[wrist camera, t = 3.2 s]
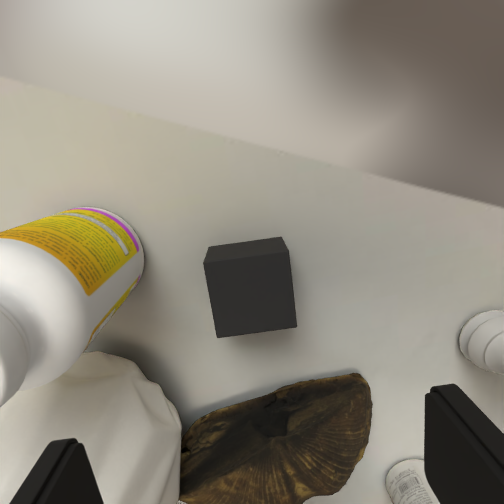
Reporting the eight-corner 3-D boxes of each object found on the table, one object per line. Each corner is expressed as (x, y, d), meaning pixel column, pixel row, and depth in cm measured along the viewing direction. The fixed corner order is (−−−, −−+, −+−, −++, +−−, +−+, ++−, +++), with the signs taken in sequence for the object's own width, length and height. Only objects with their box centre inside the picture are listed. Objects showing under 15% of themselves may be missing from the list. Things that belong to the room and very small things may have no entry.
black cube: (281, 236, 23) (288, 250, 20) (289, 303, 24) (297, 327, 21) (208, 246, 23) (202, 262, 20) (220, 313, 24) (216, 338, 21)
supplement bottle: (44, 199, 22) (-214, 256, 9) (148, 211, 22) (32, 282, 10) (48, 295, 24) (-166, 449, 11) (144, 305, 24) (41, 464, 12)
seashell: (356, 343, 25) (406, 432, 19) (374, 415, 29) (420, 507, 23) (148, 415, 26) (131, 524, 19) (196, 475, 30) (195, 579, 24)
